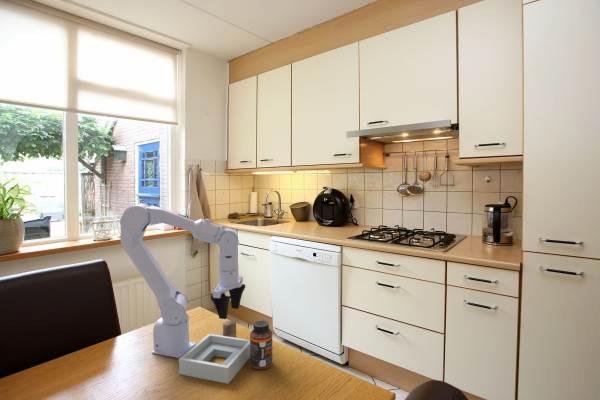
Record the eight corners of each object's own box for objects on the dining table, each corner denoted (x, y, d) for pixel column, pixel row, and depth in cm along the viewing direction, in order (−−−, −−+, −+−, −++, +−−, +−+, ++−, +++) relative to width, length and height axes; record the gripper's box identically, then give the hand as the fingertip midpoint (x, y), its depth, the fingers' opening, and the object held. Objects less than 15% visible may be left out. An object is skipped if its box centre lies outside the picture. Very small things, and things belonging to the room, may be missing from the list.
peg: (220, 344, 97) (220, 325, 97) (227, 338, 101) (226, 319, 101) (232, 346, 96) (232, 327, 96) (238, 340, 100) (238, 321, 100)
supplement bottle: (268, 372, 83) (268, 329, 83) (246, 369, 85) (246, 327, 84) (275, 359, 89) (274, 319, 89) (254, 357, 90) (254, 317, 90)
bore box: (179, 374, 83) (178, 358, 82) (209, 346, 96) (209, 333, 96) (228, 383, 79) (227, 368, 78) (252, 353, 92) (252, 340, 92)
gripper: (228, 277, 89) (229, 325, 90) (251, 263, 103) (251, 305, 104) (205, 275, 91) (207, 322, 92) (231, 262, 105) (232, 303, 106)
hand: (229, 313), depth 98 cm, fingers open, 7 cm apart
